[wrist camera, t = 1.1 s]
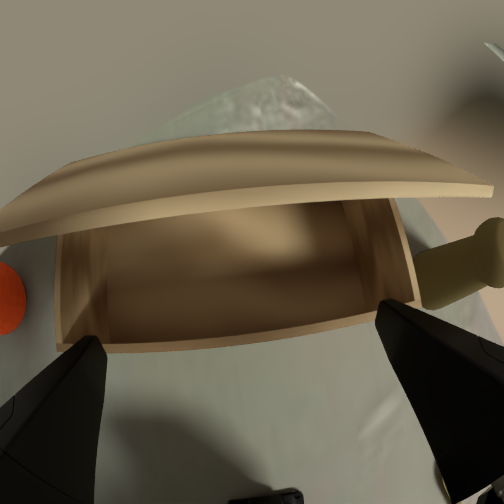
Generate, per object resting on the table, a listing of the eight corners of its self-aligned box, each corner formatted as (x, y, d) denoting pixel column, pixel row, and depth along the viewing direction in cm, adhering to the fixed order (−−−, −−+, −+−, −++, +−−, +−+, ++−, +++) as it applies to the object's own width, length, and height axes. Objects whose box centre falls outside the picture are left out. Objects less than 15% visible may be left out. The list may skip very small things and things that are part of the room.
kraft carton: (370, 317, 21) (422, 307, 14) (108, 349, 19) (56, 351, 12) (340, 189, 25) (371, 141, 17) (106, 215, 23) (67, 173, 16)
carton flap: (491, 197, 7) (494, 186, 7) (-35, 255, 6) (-40, 244, 5) (368, 138, 17) (368, 132, 16) (71, 169, 15) (69, 163, 15)
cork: (453, 308, 22) (535, 286, 11) (410, 312, 22) (500, 289, 11) (447, 252, 24) (521, 211, 13) (405, 248, 23) (483, 198, 13)
